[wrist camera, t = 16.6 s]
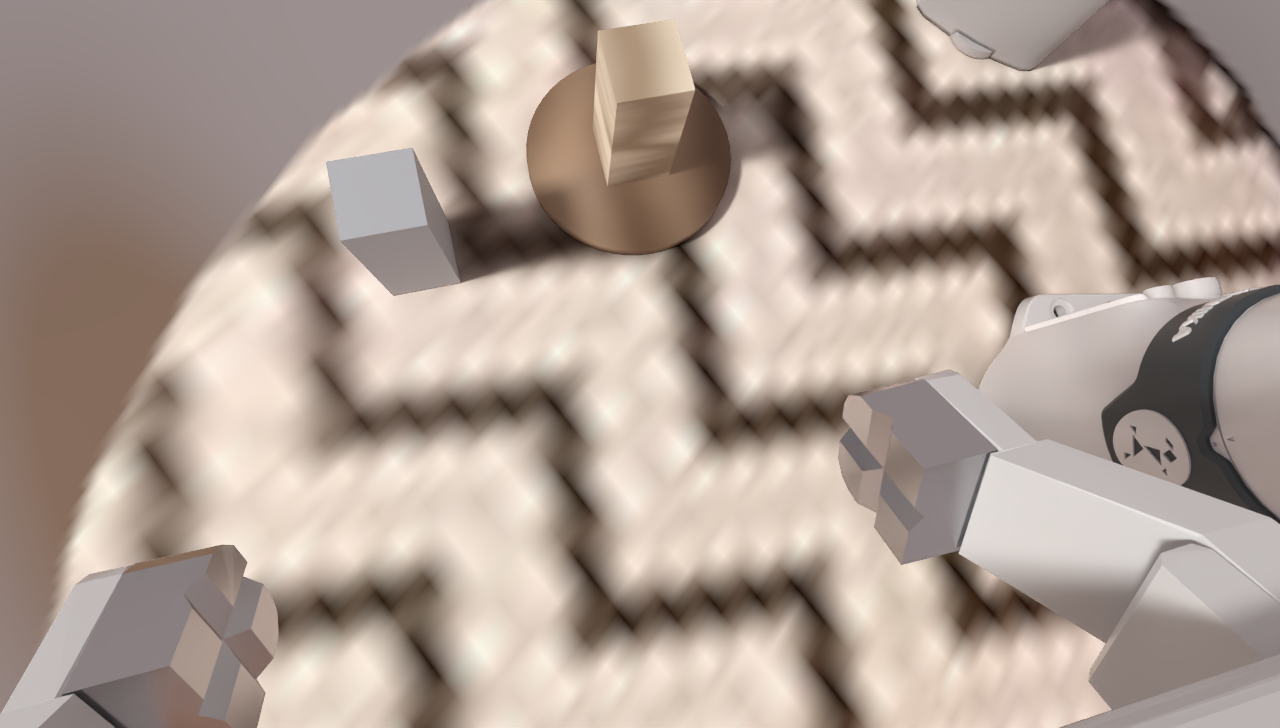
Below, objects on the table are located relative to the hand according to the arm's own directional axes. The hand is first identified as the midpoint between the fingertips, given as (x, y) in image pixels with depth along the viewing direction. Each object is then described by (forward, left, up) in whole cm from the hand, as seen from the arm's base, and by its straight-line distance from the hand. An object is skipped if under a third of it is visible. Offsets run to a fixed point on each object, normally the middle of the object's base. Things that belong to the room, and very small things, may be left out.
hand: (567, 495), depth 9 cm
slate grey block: (+6, -15, -29) cm, 34 cm away
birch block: (-8, -19, -28) cm, 35 cm away
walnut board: (-8, -19, -29) cm, 36 cm away
